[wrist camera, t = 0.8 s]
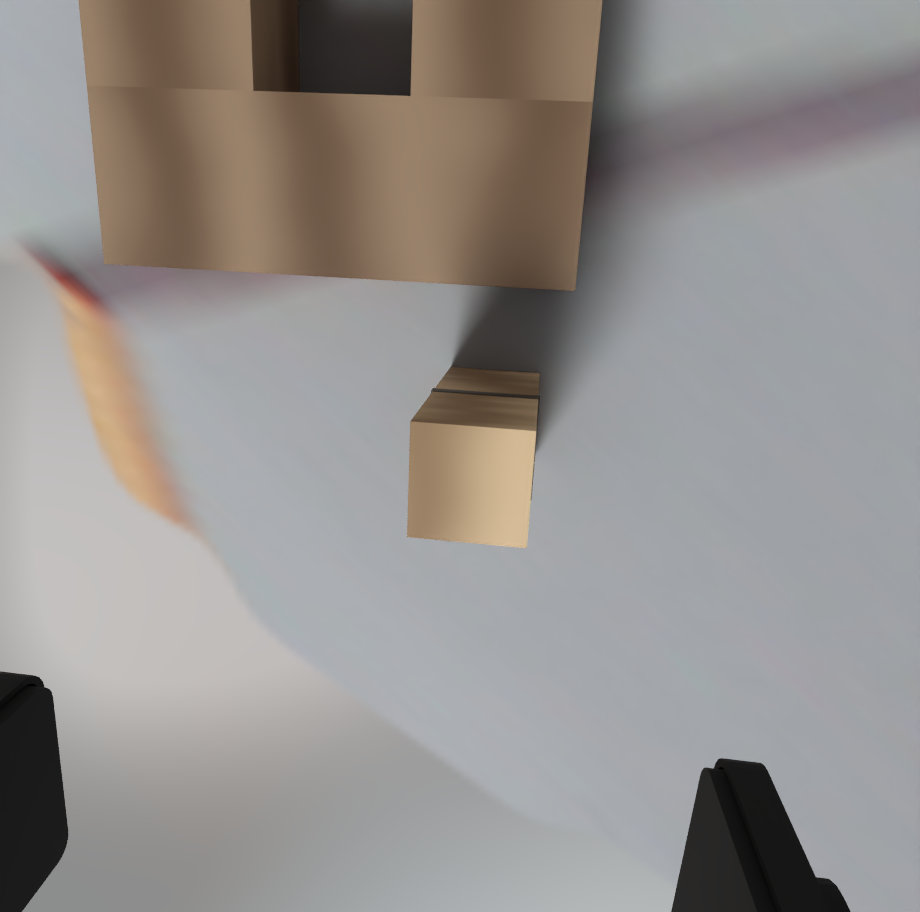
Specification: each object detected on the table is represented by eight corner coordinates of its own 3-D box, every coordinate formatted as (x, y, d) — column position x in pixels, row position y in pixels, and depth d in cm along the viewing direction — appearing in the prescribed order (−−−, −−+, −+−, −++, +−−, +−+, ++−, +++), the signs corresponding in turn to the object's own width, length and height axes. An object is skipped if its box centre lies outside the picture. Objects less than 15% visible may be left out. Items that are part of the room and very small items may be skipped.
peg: (541, 371, 32) (538, 429, 22) (533, 459, 33) (528, 549, 24) (449, 365, 32) (408, 419, 23) (446, 452, 34) (405, 538, 24)
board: (619, -243, 25) (635, -354, 20) (571, 282, 31) (575, 291, 26) (134, -236, 27) (45, -337, 22) (169, 259, 32) (104, 263, 28)
